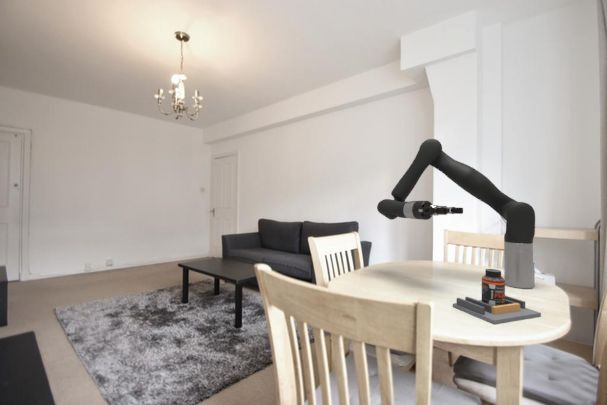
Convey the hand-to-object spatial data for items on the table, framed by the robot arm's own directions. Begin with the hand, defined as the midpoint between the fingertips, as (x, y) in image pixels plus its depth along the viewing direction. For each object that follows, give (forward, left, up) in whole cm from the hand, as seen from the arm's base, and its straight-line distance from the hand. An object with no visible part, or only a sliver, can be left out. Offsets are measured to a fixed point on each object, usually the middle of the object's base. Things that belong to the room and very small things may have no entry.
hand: (455, 210), depth 104 cm
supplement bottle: (+1, +15, -29) cm, 33 cm away
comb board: (+1, +16, -30) cm, 34 cm away
